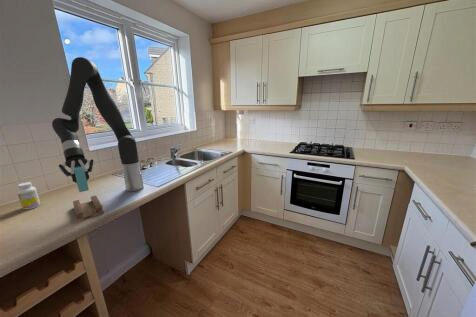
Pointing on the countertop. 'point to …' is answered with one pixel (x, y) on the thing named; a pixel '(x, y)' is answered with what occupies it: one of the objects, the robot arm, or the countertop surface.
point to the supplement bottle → (28, 196)
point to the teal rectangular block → (81, 179)
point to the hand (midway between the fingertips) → (81, 180)
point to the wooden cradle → (88, 208)
